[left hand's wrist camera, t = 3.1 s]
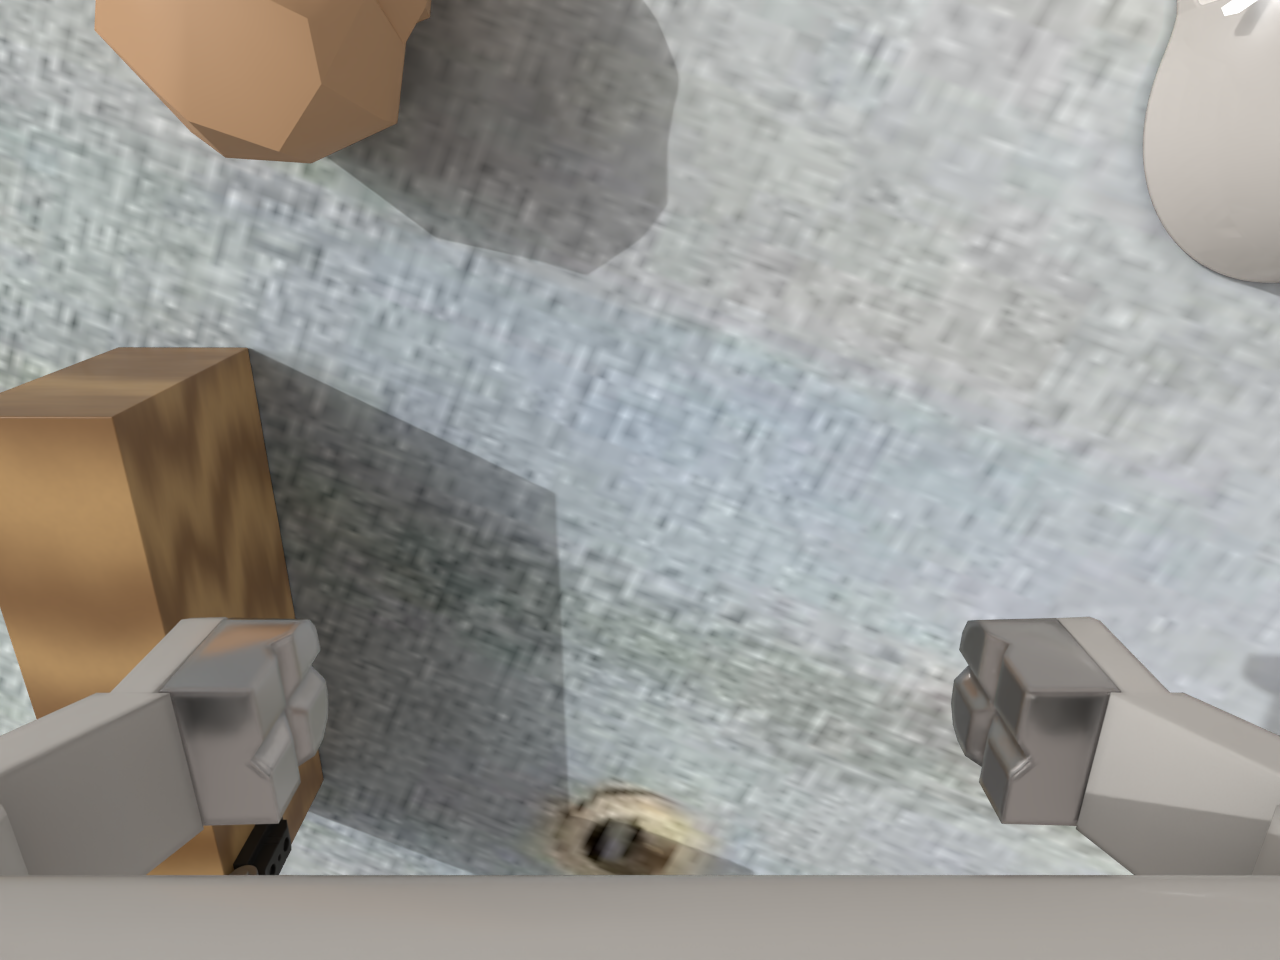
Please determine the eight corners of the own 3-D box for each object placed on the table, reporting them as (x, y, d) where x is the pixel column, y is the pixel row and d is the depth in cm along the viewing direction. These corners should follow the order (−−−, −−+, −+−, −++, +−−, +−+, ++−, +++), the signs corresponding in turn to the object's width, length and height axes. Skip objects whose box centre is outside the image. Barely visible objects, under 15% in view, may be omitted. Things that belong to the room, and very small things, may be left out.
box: (118, 347, 39) (-64, 416, 29) (248, 347, 39) (112, 417, 29) (219, 779, 48) (109, 944, 38) (323, 779, 48) (241, 944, 38)
